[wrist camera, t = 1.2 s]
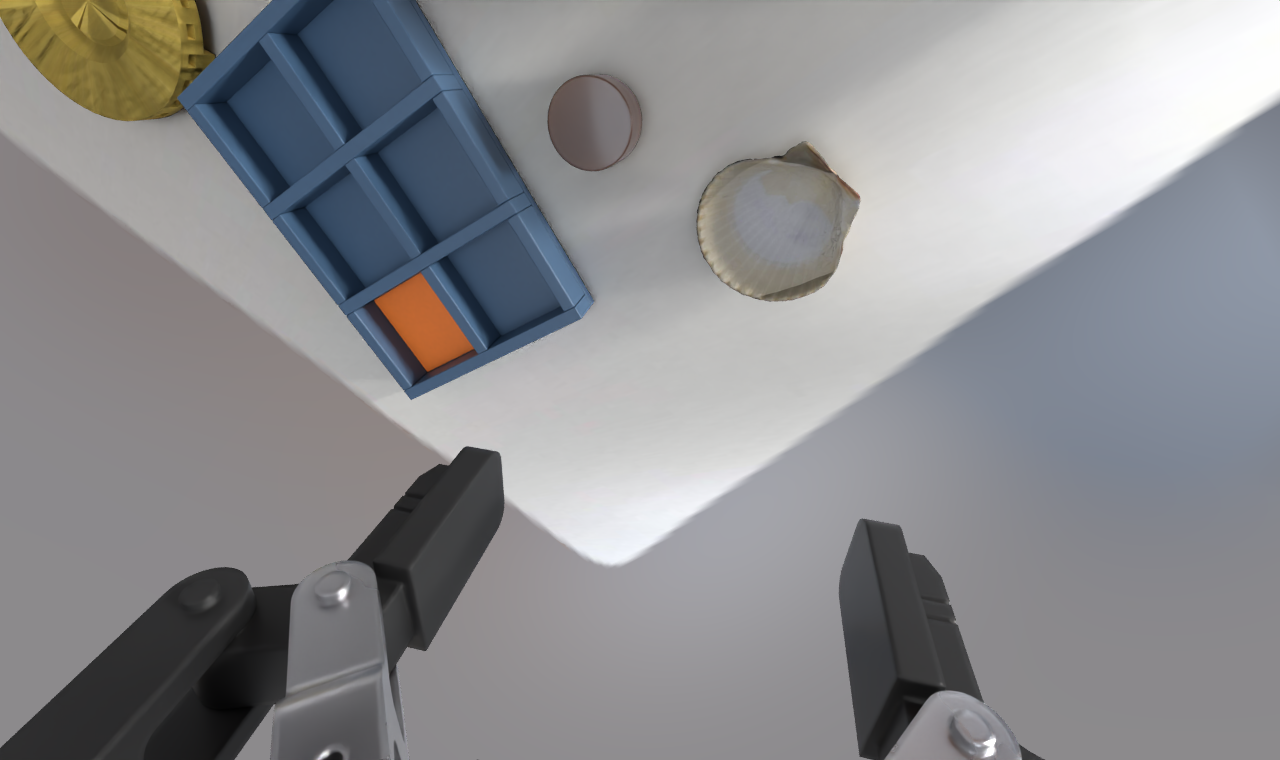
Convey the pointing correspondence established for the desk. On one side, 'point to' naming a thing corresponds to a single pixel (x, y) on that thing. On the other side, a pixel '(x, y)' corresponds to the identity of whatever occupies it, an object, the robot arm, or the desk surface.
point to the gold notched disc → (113, 51)
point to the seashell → (776, 224)
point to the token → (594, 121)
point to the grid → (388, 184)
